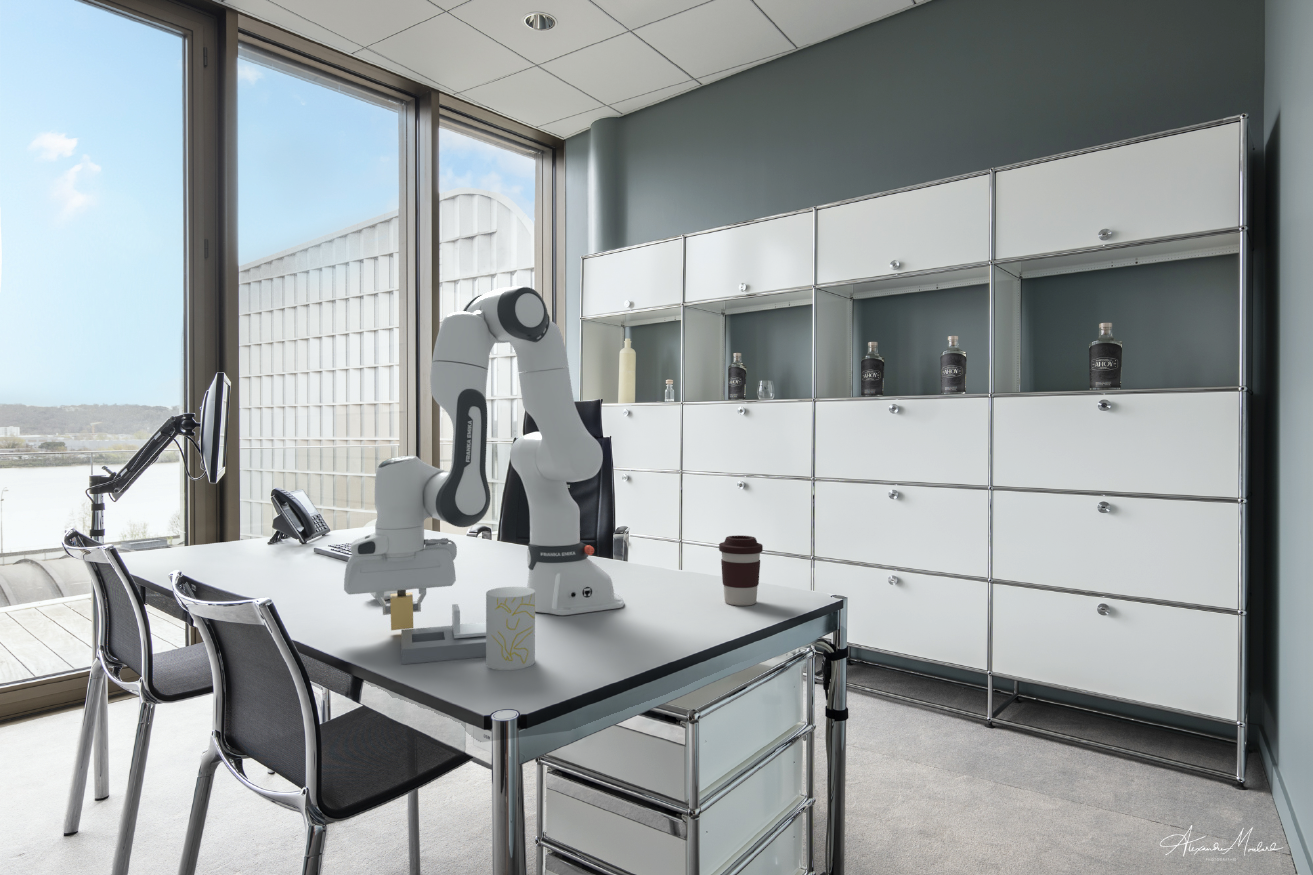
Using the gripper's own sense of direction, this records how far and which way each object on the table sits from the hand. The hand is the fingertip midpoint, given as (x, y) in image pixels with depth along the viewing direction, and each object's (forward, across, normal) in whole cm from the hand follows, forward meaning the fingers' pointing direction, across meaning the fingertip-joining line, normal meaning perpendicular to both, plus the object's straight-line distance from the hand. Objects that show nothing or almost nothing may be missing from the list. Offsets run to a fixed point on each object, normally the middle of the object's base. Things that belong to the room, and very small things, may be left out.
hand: (401, 612), depth 142 cm
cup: (+5, -17, +23) cm, 30 cm away
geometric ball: (+5, +4, -32) cm, 33 cm away
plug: (+3, 0, 0) cm, 3 cm away
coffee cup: (+6, -73, -4) cm, 74 cm away
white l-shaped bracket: (+2, -12, +12) cm, 17 cm away
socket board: (+4, -7, +12) cm, 15 cm away
